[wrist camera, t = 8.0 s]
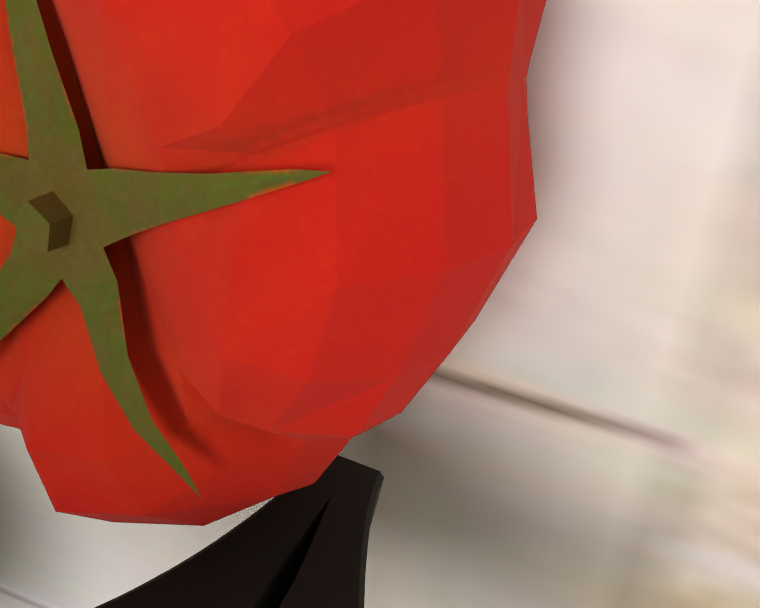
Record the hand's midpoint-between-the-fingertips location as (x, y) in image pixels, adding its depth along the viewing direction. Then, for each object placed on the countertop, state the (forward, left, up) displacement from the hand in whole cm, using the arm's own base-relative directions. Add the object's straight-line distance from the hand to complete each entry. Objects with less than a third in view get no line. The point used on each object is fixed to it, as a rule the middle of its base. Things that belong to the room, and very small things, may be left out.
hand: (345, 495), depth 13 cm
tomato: (0, +7, -2) cm, 8 cm away
